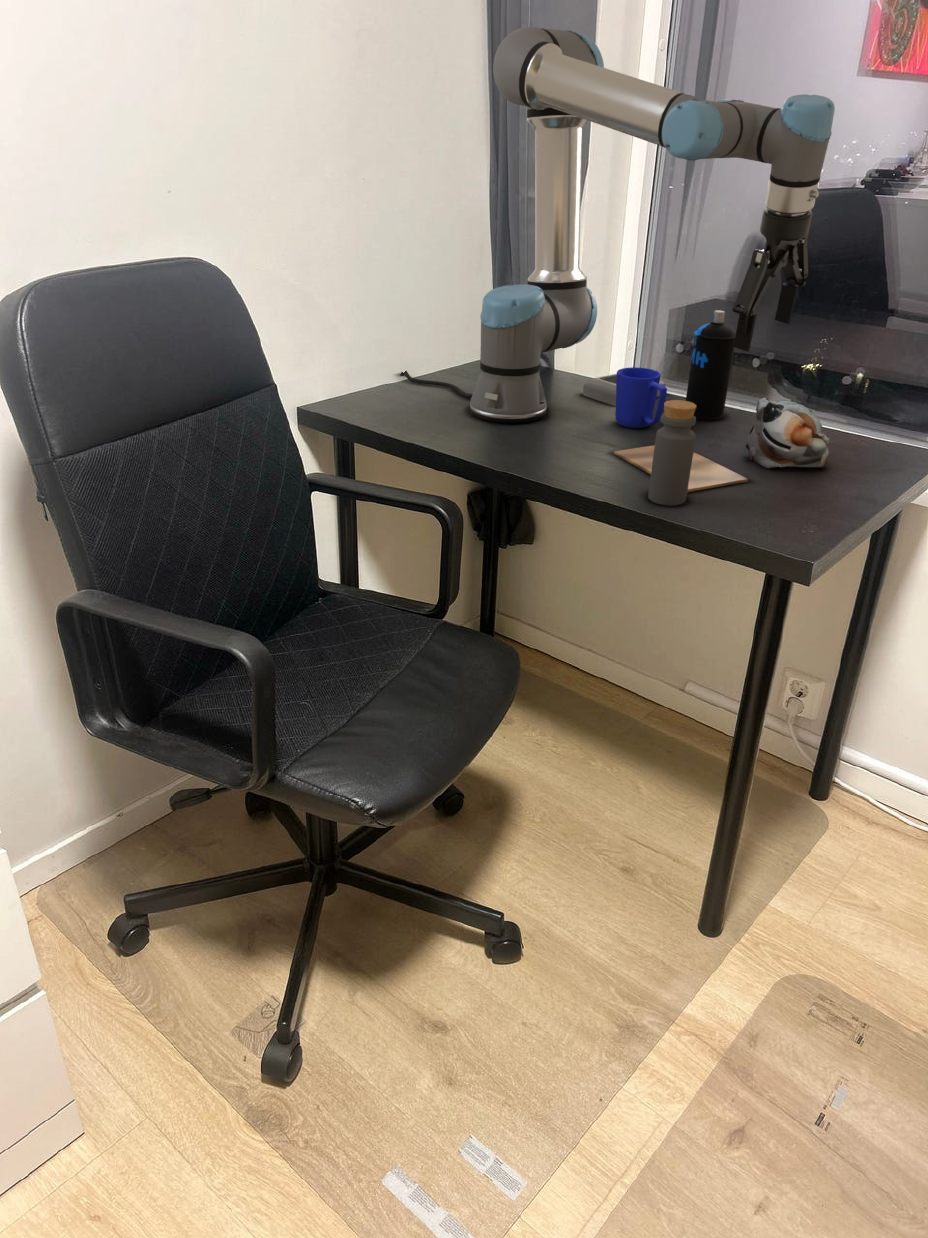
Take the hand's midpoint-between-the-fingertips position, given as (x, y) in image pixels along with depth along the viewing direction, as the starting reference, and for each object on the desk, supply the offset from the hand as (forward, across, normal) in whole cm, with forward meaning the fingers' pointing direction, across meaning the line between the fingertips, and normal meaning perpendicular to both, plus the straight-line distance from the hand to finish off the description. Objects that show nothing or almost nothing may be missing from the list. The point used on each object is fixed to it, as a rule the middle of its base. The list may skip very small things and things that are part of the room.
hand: (762, 334), depth 154 cm
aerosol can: (+22, +3, +11) cm, 24 cm away
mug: (+19, -13, +15) cm, 27 cm away
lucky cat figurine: (+16, -11, -14) cm, 24 cm away
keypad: (+24, +3, +30) cm, 38 cm away
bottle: (+10, -39, -9) cm, 41 cm away
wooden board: (+14, -26, -2) cm, 29 cm away
